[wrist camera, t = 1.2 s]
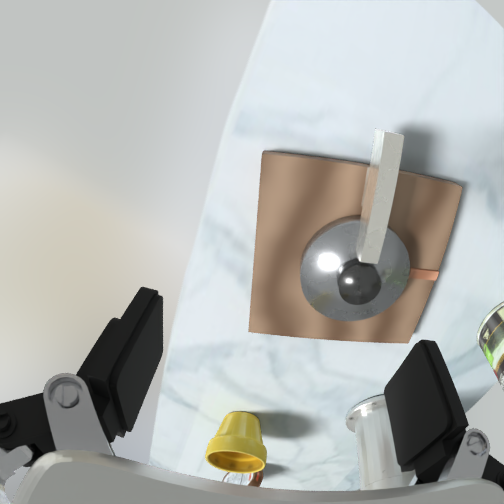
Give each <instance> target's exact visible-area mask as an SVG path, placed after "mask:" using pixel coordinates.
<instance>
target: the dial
mask: <svg viewBox="0 0 504 504" xmlns="http://www.w3.org/2000/svg"><path fill="white" fill-rule="evenodd" d="M403 142H404V135H401V134H397V133H394V132H390V131H385V130H380V129H375V133H374V141H373V148H372V155H371V161H370V168H369V174H368V180H367V186H366V192H365V197H364V203H363V208H362V213H361V216H359V215H357V216H347V217H343V218H339V219H336V220H334V221H332V222H330V223H328V224H326V225H325V226H323V227H322V228H321V229H319V230H318V231H317V232H316V233H315V234H314V235H313V236H312V237H311V239H310V240H309V241H308V243H307V245H306V247H305V248H304V251H303V253H302V257H301V261H300V281H301V288H302V291H303V294H304V296H305V298H306V300H307V301H308V303H309V304H310V305H311V306H312V307H313V308H314V309H315V310H316V311H318V312H319V313H320V314H322V315H324V316H326V317H328V318H331V319H335V320H339V321H359V320H364V319H367V318H371V317H373V316H375V315H378V314H379V313H381V312H383V311H384V310H386V309H387V308H389V307H390V306H391V305H392V304H393V303H394V302H395V301H396V300H397V299H398V298H399V296H400V295H401V294H402V292H403V290H404V288H405V286H406V284H407V281H408V278H409V272H410V260H409V255H408V252H407V249H406V247H405V245H404V244H403V242H402V241H401V240H400V238H399V237H398V235H397V234H396V233H395V231H394V230H393V229H392V228H391V227H390V226H388V221H389V217H390V212H391V208H392V203H393V198H394V193H395V188H396V183H397V178H398V172H399V167H400V161H401V155H402V148H403Z"/></svg>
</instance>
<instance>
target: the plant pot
mask: <svg viewBox="0 0 504 504" xmlns="http://www.w3.org/2000/svg"><path fill="white" fill-rule="evenodd" d="M266 457H267V450H266V448H265V446H264V445H263V441H262V435H261V428H260V421H259V419H258V418H257V417H256V416H255V415H253V414H251V413H247V412H240V411H238V412H231V413H229V414H227V415H226V416H225V418H224V420H223V422H222V424H221V426H220V428H219V430H218V431H217V433H216V435H215V437H214V438H212V439H211V440H210V441H209V444H208V447H207V451H206V455H205V458H206V461H207V462H208V463H209V464H210V465H212V466H214V467H215V468H218V469H220V470H223V471H227V472H232V473H242V474H246V473H255V472H258V471H261V470H262V469H264V467H265V465H266Z"/></svg>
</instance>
